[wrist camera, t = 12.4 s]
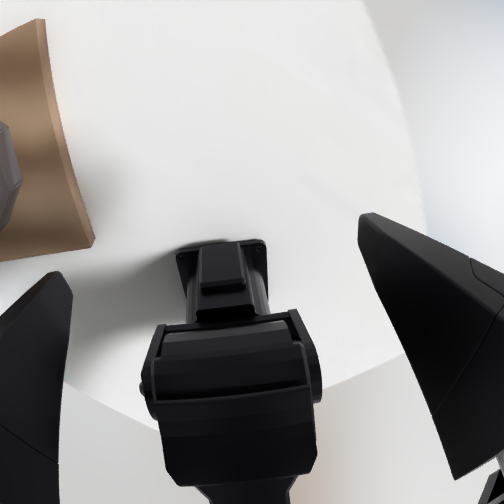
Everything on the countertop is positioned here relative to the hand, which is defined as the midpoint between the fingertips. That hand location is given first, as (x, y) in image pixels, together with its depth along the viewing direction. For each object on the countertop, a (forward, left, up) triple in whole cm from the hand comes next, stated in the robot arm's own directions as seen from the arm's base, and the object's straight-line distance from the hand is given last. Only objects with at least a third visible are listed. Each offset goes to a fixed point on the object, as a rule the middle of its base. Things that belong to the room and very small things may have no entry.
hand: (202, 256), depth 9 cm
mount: (+2, +17, -12) cm, 21 cm away
